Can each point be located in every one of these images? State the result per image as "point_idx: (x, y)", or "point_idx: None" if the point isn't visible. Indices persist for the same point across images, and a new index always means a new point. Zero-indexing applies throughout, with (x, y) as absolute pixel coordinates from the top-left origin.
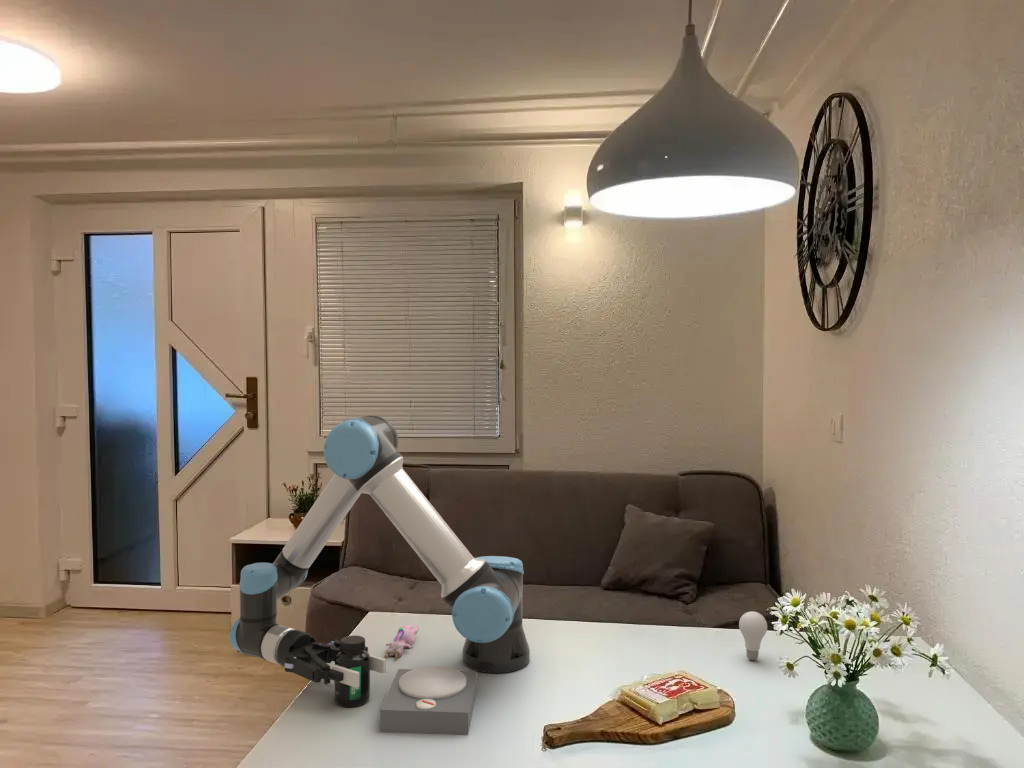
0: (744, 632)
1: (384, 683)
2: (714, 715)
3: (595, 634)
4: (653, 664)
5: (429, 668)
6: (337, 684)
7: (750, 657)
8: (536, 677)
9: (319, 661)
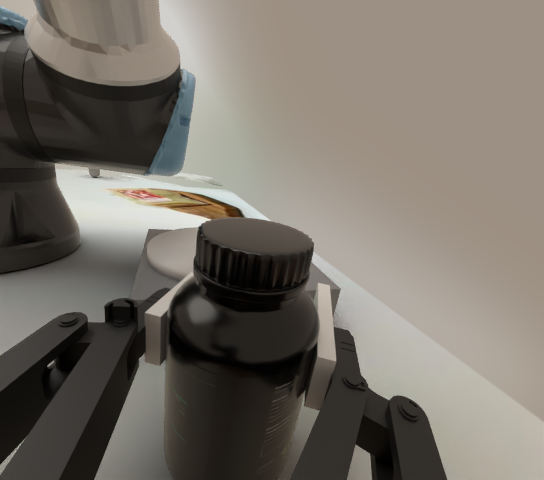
0: None
1: None
2: (190, 194)
3: None
4: (88, 192)
5: (159, 251)
6: (300, 407)
7: (98, 174)
8: (105, 227)
9: (327, 471)
